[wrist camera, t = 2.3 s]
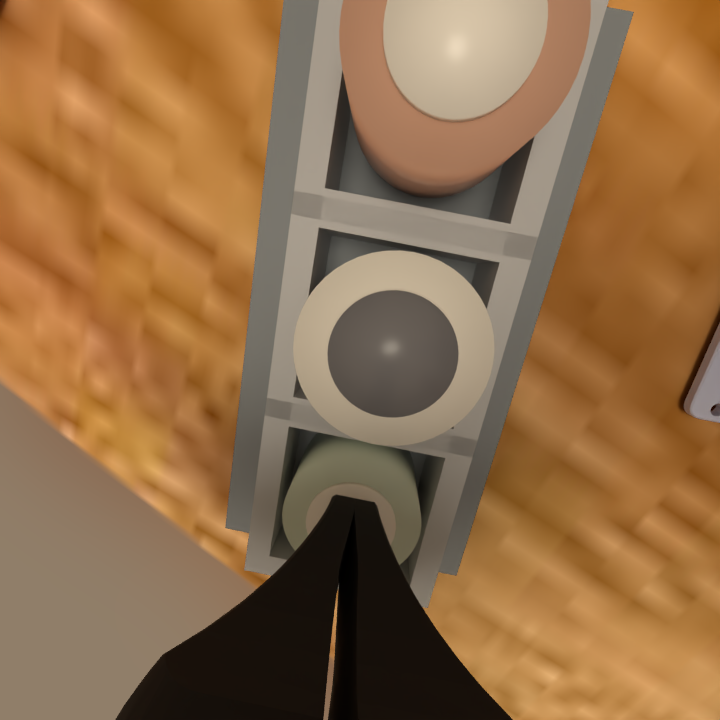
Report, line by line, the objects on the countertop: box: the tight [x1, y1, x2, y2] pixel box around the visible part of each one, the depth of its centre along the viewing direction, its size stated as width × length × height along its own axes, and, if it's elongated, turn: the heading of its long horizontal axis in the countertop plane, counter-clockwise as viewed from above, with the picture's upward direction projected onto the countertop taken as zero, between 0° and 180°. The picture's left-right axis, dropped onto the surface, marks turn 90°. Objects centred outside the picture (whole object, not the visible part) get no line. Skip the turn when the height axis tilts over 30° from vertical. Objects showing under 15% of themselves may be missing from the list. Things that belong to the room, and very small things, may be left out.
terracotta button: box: [339, 0, 591, 198], centre depth 8 cm, size 4×4×3 cm
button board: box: [225, 0, 634, 608], centre depth 12 cm, size 10×20×4 cm, turn 169°
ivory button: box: [293, 250, 495, 446], centre depth 9 cm, size 4×4×3 cm
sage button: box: [282, 432, 421, 565], centre depth 13 cm, size 4×4×3 cm
